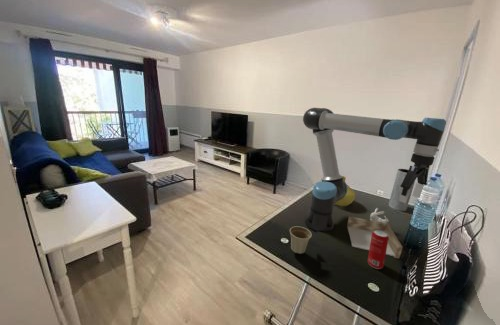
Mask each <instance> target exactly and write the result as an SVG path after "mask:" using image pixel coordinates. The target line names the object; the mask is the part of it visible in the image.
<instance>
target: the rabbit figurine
mask: <svg viewBox="0 0 500 325" xmlns="http://www.w3.org/2000/svg"><path fill="white" fill-rule="evenodd" d="M378 210H379V208H378V207H376V208H375V210H374V212H371V213H370V216H369V218H370V219H369V220H371V221H376V222H382V223H387V224H388V223H389V219H388V218H387V217H386V215H384V214H385V211H384V210H381V211H378ZM378 215H384V216H383V218H384V219H383V218H382V217H379V216H378Z"/></svg>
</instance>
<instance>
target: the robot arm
mask: <svg viewBox="0 0 500 325" xmlns="http://www.w3.org/2000/svg"><path fill="white" fill-rule="evenodd" d="M302 122H303V124H304V125H305V127H306V128H307V129H310V130H312V134H313V135H314V136H315V137H316V141H317V142H316V143H317V146H318V147H317V148H318V152H319V158H320V164H321V170H322V174H323V176H322V178H321V181H317V182H316V183H315V184H314V185H313V186H312V187H313V188H312V192H311V201H310V206H309V210H308V212H307V213H306V215H305V217H304V224H305V225H306V226H307V227H309V228H310V229H312V230H313V231H320V232H329V231H331V230H333V229H334V218H333V212H334V206H335V204H334V203H336V202H337V201H339V200H341V199H342V198H344V196H345V195H346V194H347V191H348V188H347V185H348V184H347V183H345V182H346V181H345V182H344V181H343V177H342V176H343V175H341V174H340V171H339V165H338V160H337V155H336V149H335V143H334V138H333V132H334V131H342V132H347V133H354V134H361V135H367V136H374V137H380V138H386V139H389V140H395V141H396V140H397V141H398V140H401V139H404V138H405V139H413V140H416V142H415V145H414V147H413V153H412V155H411V159H410V162H412V163H414V164H413V165H410V166H409V168H408V170H409V171H408V172H407V174H406V176H405V178H404V180H403V182H402V184H401V185H400V187H403V188H402V191H401V194H400V198H399V201H401V202H403V203H406V202H407V199H408V196H409V193H410V187H411V186H412V184H413V183H414V181H415V183H414V184H415V185H414V186H415V187H414V188H413V189H414V190H413V191H412V194H411V196H413V197H415V198H417V199H420V198H421V194H422V192H423V189H424V187H425V186H427V185H428V177H429V176H428V175H429V169H430V166H432V165H433V164H434V160H435V156H436V155H437V152H439V151H440V150H439V146H440V143H441V140H442V138H443V134H444V132H445V130H446V129H445V128H446V125H447V120H445V119H444V118H437V117H436V118H435V117H424V118H423V120H422V121H416V120H415V121H414V120H406V119H405V120H404V119H397V118H396V119H389V118H378V117H367V116H360V115H351V114H350V115H349V114H340V113H334V111H332V110H331V109H328V108H326V107H321V108H320V107H310V108H309V109H307V110H306V111H304V114H303V116H302ZM416 180H417V182H416ZM346 184H347V185H346ZM406 185H407V186H406ZM424 185H425V186H424Z"/></svg>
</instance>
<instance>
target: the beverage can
mask: <svg viewBox="0 0 500 325" xmlns="http://www.w3.org/2000/svg"><path fill="white" fill-rule="evenodd" d="M388 240H389V237H388V234H387V233H386V232H385V231H382V230H374V231H373V233H372V237H371V243H370V249H369V250H368V256H367V263H368V265H369V266H370V267H371V268H374V269H376V270H381V269H383V268H384V265H385V261H386V260H385V259H386V256H387V255H386V250H387V245H388Z"/></svg>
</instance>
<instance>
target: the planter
mask: <svg viewBox="0 0 500 325" xmlns="http://www.w3.org/2000/svg"><path fill="white" fill-rule="evenodd" d="M408 171H409V169H406V168H398V169H397V172H396V176H395V178H394V183H393V187H392V189H391V194H390V198H389V200H388V206H389V207H390V208H391V209H393V210H396V211H400V212H405V211H407V210H408V205H409V202H410V199H411V196H412V194H413V191H414V190H413V189H414V186H415V184H416V180H415V181H414V183H413V184H412V186H411V187H410V193H409V196H408V199H407V202H406V203H403V202H401V201H399V198H400V194H401V191H402V188H403V187H400V185H401V184H402V182H403V180H404V178H405V176H406V174H407V172H408ZM406 186H407V185H406Z"/></svg>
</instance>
